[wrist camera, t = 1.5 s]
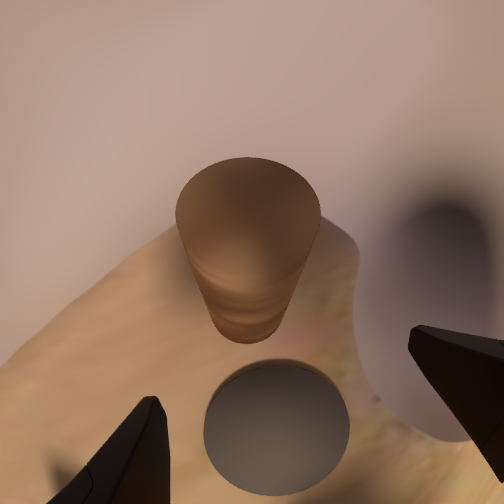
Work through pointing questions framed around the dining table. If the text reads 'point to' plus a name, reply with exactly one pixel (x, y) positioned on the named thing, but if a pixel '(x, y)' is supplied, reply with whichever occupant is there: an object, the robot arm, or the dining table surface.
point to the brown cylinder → (247, 241)
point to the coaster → (276, 430)
